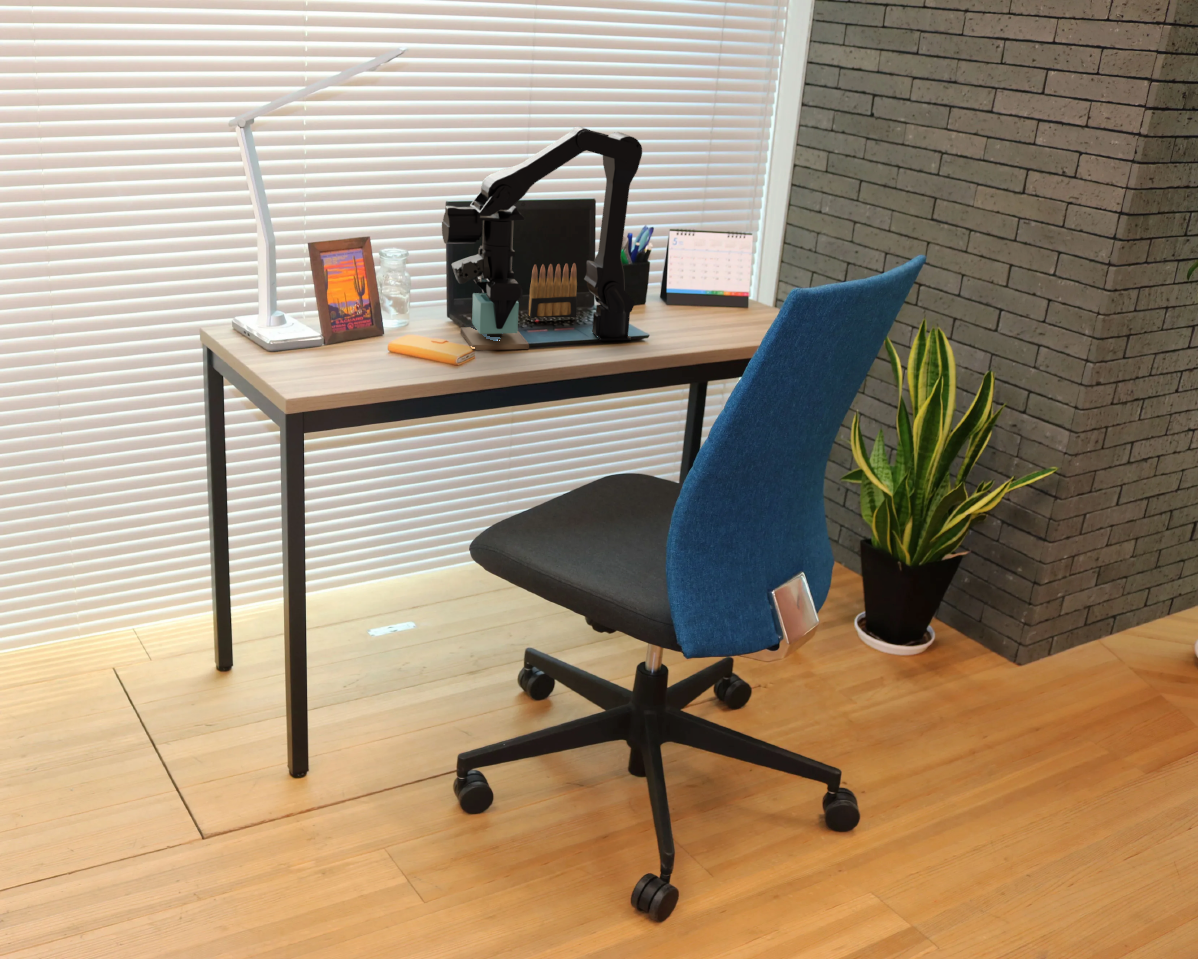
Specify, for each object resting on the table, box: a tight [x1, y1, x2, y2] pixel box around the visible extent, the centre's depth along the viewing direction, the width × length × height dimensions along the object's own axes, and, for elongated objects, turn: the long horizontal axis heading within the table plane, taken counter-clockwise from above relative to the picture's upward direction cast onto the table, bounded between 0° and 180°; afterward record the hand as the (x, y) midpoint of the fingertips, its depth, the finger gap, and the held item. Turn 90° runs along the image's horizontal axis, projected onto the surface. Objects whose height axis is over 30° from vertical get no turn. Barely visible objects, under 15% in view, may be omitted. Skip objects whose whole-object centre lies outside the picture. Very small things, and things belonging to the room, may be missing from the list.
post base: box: [460, 326, 530, 351], centre depth 224 cm, size 11×12×6 cm
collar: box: [471, 292, 520, 334], centre depth 223 cm, size 7×7×6 cm
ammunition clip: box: [526, 262, 578, 318], centre depth 240 cm, size 11×2×12 cm, turn 115°
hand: (494, 323), depth 224 cm, fingers closed on collar, 7 cm apart
